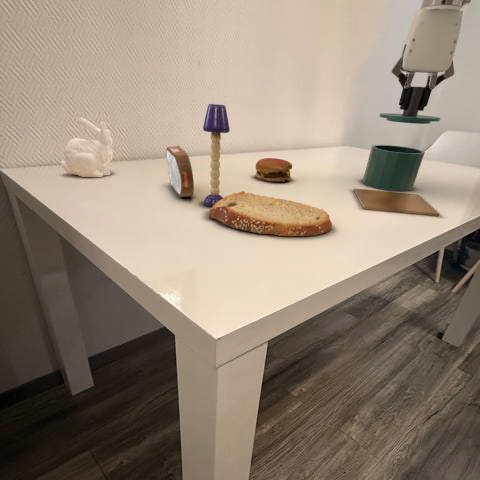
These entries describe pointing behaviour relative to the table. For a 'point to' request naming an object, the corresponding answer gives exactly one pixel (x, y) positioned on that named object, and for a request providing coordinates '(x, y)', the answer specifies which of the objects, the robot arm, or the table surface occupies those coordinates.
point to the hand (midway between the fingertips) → (411, 109)
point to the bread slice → (270, 215)
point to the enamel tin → (392, 167)
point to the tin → (180, 171)
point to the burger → (273, 169)
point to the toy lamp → (215, 147)
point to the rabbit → (89, 152)
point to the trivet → (394, 202)
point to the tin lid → (411, 110)
